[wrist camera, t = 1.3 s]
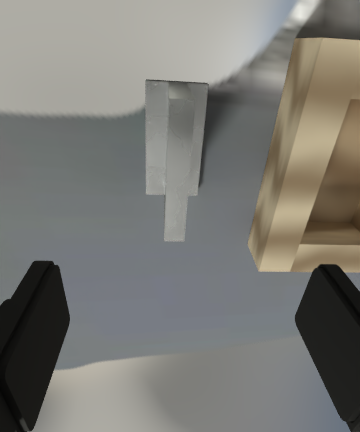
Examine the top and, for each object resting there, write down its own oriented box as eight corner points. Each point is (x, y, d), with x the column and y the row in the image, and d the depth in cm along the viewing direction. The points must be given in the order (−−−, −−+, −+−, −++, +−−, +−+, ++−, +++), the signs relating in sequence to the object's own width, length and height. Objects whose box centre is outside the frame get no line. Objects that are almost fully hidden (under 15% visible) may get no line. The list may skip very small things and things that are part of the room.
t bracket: (146, 79, 23) (137, 96, 16) (206, 83, 23) (226, 101, 16) (146, 189, 28) (140, 240, 21) (196, 191, 28) (207, 241, 21)
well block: (294, 38, 22) (322, 37, 18) (462, 50, 23) (522, 51, 19) (247, 244, 32) (258, 271, 28) (363, 246, 33) (389, 272, 29)
